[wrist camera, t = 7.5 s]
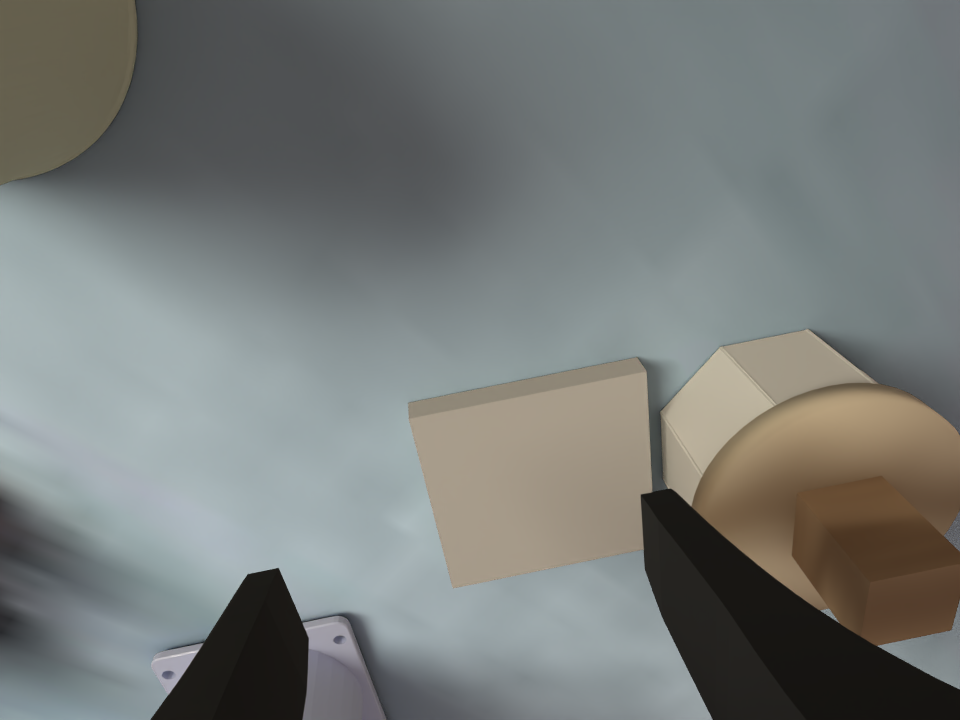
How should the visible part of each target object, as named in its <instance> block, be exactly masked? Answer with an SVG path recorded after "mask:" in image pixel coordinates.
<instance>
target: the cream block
mask: <svg viewBox="0 0 960 720" xmlns="http://www.w3.org/2000/svg"><path fill="white" fill-rule="evenodd" d="M408 408H409V421H410V425H411V429H412V433H413V437H414V441H415V445H416V448H417V452H418V456H419V460H420V464H421V468H422V471H423V475H424V479H425V483H426V487H427V491H428V494H429V498H430V502H431V506H432V510H433V514H434V518H435V521H436V525H437V529H438V533H439V537H440V541H441V544H442V548H443V552H444V556H445V560H446V564H447V567H448V571H449V575H450V579H451V583H452V587H453V588H457V587H462V586H467V585H472V584H477V583H482V582H487V581H492V580H496V579H501V578H506V577H511V576H516V575H521V574H526V573H531V572H535V571H540V570H545V569H550V568H555V567H560V566H565V565H570V564H575V563H579V562H584V561H589V560H594V559H599V558H604V557H609V556H614V555H619V554H623V553H628V552H633V551H638V550H643V549H644V546H643V529H642V512H641V494H646V493H651V492H652V474H651V453H650V433H649V412H648V391H647V371H646V370H645V368H644V367H643V365H642V364H641V363H640V361H639V360H638V358H637V357H636V358H631V359H626V360H621V361H616V362H611V363H606V364H601V365H596V366H591V367H586V368H581V369H576V370H571V371H566V372H561V373H556V374H551V375H546V376H541V377H536V378H531V379H526V380H521V381H516V382H511V383H506V384H501V385H496V386H491V387H486V388H481V389H476V390H471V391H466V392H461V393H455V394H450V395H445V396H440V397H435V398H430V399H425V400H420V401H415V402H410V403H408Z"/></svg>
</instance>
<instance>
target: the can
mask: <svg viewBox="0 0 960 720" xmlns="http://www.w3.org/2000/svg"><path fill="white" fill-rule="evenodd" d="M136 50H137V15H136V6H135V0H0V185H3V184H5V183H7V182H10V181H12V180H18V179H23V178H27V177H32V176H36V175H39V174H42V173H45V172H48V171H51V170H53V169H55V168H58V167H60V166H62V165H64V164H65V163H67V162H69V161H71V160H73V159H74V158H76V157H77V156H79V155H80V154H81V153H83V152H84V151H85V150H87V149H88V148H89V147H90V146H91V145H92V144H93V143H95V142H96V141H97V140H98V139H99V138H100V136H101V135H102V134H103V133H104V132H105V131H106V129H107V128H108V127H109V125H110V124H111V122H112V121H113V119H114V118H115V117H116V115H117V113H118V111H119V109H120V107H121V105H122V103H123V101H124V99H125V96H126V94H127V91H128V88H129V86H130V82H131V78H132V74H133V70H134V64H135V59H136Z"/></svg>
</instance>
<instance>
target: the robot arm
mask: <svg viewBox="0 0 960 720" xmlns="http://www.w3.org/2000/svg"><path fill="white" fill-rule="evenodd" d="M641 512H642V529H643V546H644V563H645V571H646V574H647V576H648V579H649V582H650V585H651V588H652V591H653V593H654V596H655V599H656V602H657V604H658V607H659V610H660V612H661V615H662V618H663V620H664V622H665V624H666V626H667V628H668V630H669V632H670V634H671V636H672V638H673V640H674V642H675V644H676V646H677V648H678V651H679V653H680V655H681V657H682V659H683V661H684V663H685V665H686V667H687V669H688V671H689V673H690V675H691V677H692V679H693V681H694V683H695V685H696V687H697V689H698V691H699V693H700V695H701V697H702V699H703V701H704V703H705V705H706V707H707V709H708V711H709V713H710V715H711V717H712V719H713V720H960V690H959V689H957V688H955V687H953V686H951V685H949V684H947V683H945V682H943V681H941V680H939V679H937V678H935V677H933V676H931V675H929V674H927V673H925V672H923V671H921V670H920V669H918V668H916V667H914V666H912V665H910V664H909V663H907V662H905V661H903V660H901V659H899V658H898V657H896V656H894V655H892V654H890V653H888V652H887V651H885V650H883V649H881V648H879V647H877V646H876V645H874V644H872V643H870V642H869V641H867V640H866V639H864V638H862V637H861V636H859V635H857V634H856V633H854V632H852V631H851V630H849V629H847V628H846V627H844V626H843V625H841V624H840V623H838V622H837V621H835V620H834V619H832V618H830V617H829V616H827V615H826V614H824V613H823V612H821V611H820V610H818V609H817V608H815V607H814V606H813V605H811V604H810V603H808V602H807V601H805V600H804V599H803V598H801V597H800V596H798V595H797V594H796V593H794V592H793V591H792V590H790V589H789V588H787V587H786V586H785V585H783V584H782V583H781V582H779V581H778V580H777V579H775V578H774V577H773V576H772V575H770V574H769V573H768V572H766V571H765V570H764V569H763V568H761V567H760V566H759V565H758V564H756V563H755V562H754V561H753V560H752V559H750V558H749V557H748V556H747V555H745V554H744V553H743V552H742V551H741V550H739V549H738V548H737V547H736V546H735V545H733V544H732V543H731V542H730V541H729V540H728V539H726V538H725V537H724V536H723V535H722V534H721V533H720V532H718V531H717V530H716V529H715V528H714V527H713V526H712V525H711V524H710V523H708V522H707V521H706V520H705V519H704V518H703V517H702V516H701V515H700V514H699V513H698V512H697V511H696V510H694V509H693V508H692V507H691V506H690V505H689V504H688V503H687V502H686V501H685V500H684V499H683V498H682V497H681V496H680V495H679V494H678V493H677V492H675V491H674V490H672V489H671V488H670V489H665V490H661V491H656V492H651V493H646V494H641ZM341 635H342V636H341ZM151 667H152V670H153V671H154V673H155V674H156V676H157V678H158V679H159V681H160V682H161V684H162V686H163V687H164V689H165V690H166V692H167V694H168V696H167V698H166V699H165V700H164V702H163V703H162V705H161V706H160V707H159V709H158V710H157V711H156V713H155V714H154V716H153V717H152V718H151V720H387V719H386V717H385V714H384V711H383V709H382V706H381V704H380V701H379V698H378V696H377V693H376V690H375V688H374V685H373V683H372V680H371V677H370V675H369V672H368V669H367V667H366V664H365V662H364V659H363V656H362V654H361V651H360V648H359V646H358V643H357V641H356V638H355V635H354V633H353V630H352V628H351V625H350V622H349V621H348V619H346V618H344V617H342V616H333V617H328V618H323V619H318V620H313V621H308V622H303V623H302V621H301V619H300V616H299V614H298V612H297V609H296V607H295V605H294V602H293V600H292V598H291V596H290V593H289V591H288V589H287V586H286V584H285V582H284V579H283V577H282V575H281V572H280V570H279V568H276V569H272V570H267V571H262V572H257V573H252V574H248V575H247V576H246V578H245V579H244V580H243V582H242V584H241V585H240V587H239V588H238V590H237V591H236V593H235V595H234V596H233V598H232V599H231V601H230V602H229V604H228V606H227V607H226V609H225V610H224V612H223V614H222V615H221V617H220V618H219V620H218V622H217V623H216V625H215V626H214V628H213V629H212V631H211V633H210V634H209V636H208V637H207V639H206V640H205V642H204V643H201V644H196V645H191V646H186V647H181V648H176V649H172V650H167V651H162V652H159V653H157V654H156V655H155V656H154V658H153V661H152V664H151Z"/></svg>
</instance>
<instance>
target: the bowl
mask: <svg viewBox="0 0 960 720" xmlns="http://www.w3.org/2000/svg"><path fill="white" fill-rule="evenodd" d="M845 383H873V384H879V383H877V382H876V381H875V380H873V379H872V378H871V377H870V376H868V375H867V374H866V373H865V372H863V371H862V370H859V369H858V368H857V367H856V366H854V365H853V364H852V363H851V362H849V361H848V360H847V359H845V358H844V357H843V356H842V355H840V354H839V353H838V352H837V351H835V350H834V349H833V348H832V347H830V346H829V345H828V344H827V343H825V342H824V341H823V340H821V339H820V338H819V337H818V336H816V335H815V334H814V333H813V332H811V331H810V330H809V329H808V330H807V329H806V330H803V331H798V332H793V333H788V334H783V335H778V336H773V337H768V338H763V339H758V340H753V341H748V342H743V343H738V344H733V345H728V346H723V347H722V346H721V347H719V349H718V350H717V351H716V352H715V353H714V354H713V356H712V357H711V358H710V359H709V360H708V361H707V362H706V363H705V364H704V365H703V366H702V367H701V368H700V370H699V371H698V372H697V373H696V374H695V375H694V376H693V377H692V378H691V379H690V380H689V381H688V383H687V384H686V385H685V386H684V387H683V388H682V389H681V390H680V391H679V392H678V393H677V394H676V395H675V397H674V398H673V399H672V400H671V401H670V402H669V403H668V404H667V405H666V406H665V407H664V408H663V409H662V410H661V411H660V414H661V439H662V466H663V477H662V479H663V480H664V482H665V484H666V486H667V487H668V489H670V488H671V489H672V490H674V491H675V492H677V493H678V494H679V495H680V496H681V497H682V498H683V499H684V500H685V501H686V502H687V503H688V504H689V505H690V506H692V502H693V498H694V494H695V491H696V489H697V486H698V484H699V481H700V479H701V478H702V476H703V474H704V472H705V470H706V468H707V467H708V465H709V464H710V462H711V461H712V460H713V458H714V457H715V455H716V454H717V453H718V452H719V451H720V449H721V448H722V447H723V446H724V445H725V444H726V443H727V442H728V440H729V439H731V438H732V437H733V436H734V435H735V434H736V433H737V432H738V431H739V430H740V429H742V428H743V427H744V426H745V425H747V424H748V423H749V422H751V421H752V420H753V419H755V418H756V417H757V416H759V415H760V414H762V413H764V412H765V411H767V410H769V409H770V408H772V407H774V406H775V405H777V404H780V403H782V402H784V401H786V400H788V399H790V398H792V397H794V396H797V395H800V394H803V393H805V392H808V391H811V390H815V389H819V388H823V387H826V386H831V385H838V384H845Z"/></svg>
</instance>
